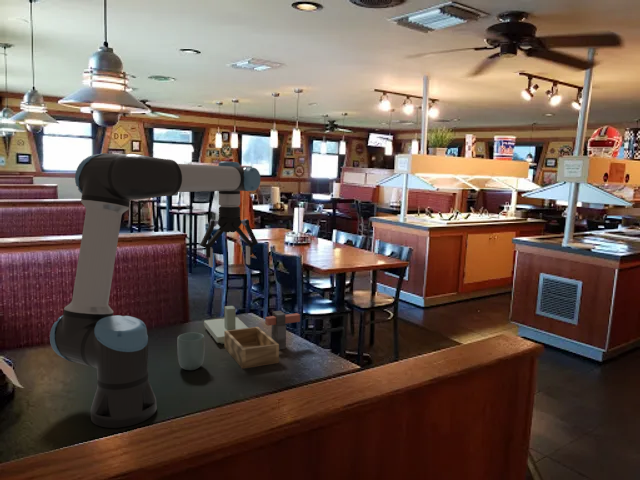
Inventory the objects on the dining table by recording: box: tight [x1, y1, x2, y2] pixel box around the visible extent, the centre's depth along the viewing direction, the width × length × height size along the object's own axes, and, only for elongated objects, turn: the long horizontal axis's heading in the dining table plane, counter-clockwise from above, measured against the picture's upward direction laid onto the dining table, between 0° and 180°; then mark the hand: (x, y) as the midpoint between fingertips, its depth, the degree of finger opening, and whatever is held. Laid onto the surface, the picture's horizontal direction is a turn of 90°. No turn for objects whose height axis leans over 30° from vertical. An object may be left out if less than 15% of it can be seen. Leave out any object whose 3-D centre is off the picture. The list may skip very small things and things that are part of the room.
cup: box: [176, 332, 205, 371], centre depth 149 cm, size 8×8×10 cm
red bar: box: [264, 312, 301, 326], centre depth 169 cm, size 2×12×2 cm, turn 117°
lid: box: [203, 305, 249, 345], centre depth 180 cm, size 21×13×12 cm, turn 26°
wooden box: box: [224, 310, 287, 370], centre depth 162 cm, size 20×19×12 cm
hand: (229, 265), depth 175 cm, fingers open, 13 cm apart
